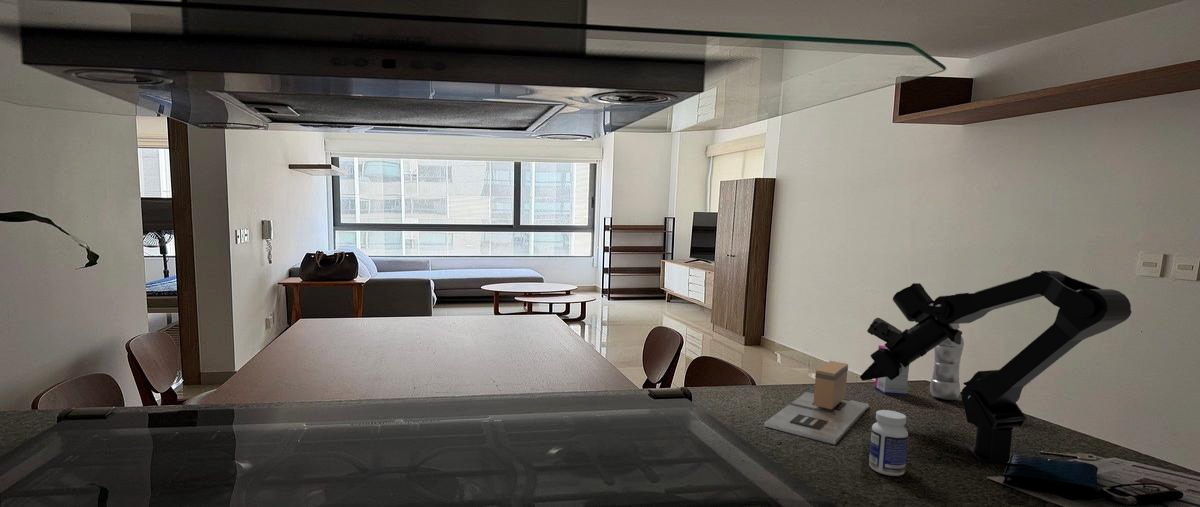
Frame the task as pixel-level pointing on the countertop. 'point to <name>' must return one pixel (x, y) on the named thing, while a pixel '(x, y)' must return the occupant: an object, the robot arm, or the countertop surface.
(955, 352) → the plastic bottle
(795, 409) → the label panel
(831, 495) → the countertop surface
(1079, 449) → the countertop surface
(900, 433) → the pill bottle
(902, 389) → the supplement box
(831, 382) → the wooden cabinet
